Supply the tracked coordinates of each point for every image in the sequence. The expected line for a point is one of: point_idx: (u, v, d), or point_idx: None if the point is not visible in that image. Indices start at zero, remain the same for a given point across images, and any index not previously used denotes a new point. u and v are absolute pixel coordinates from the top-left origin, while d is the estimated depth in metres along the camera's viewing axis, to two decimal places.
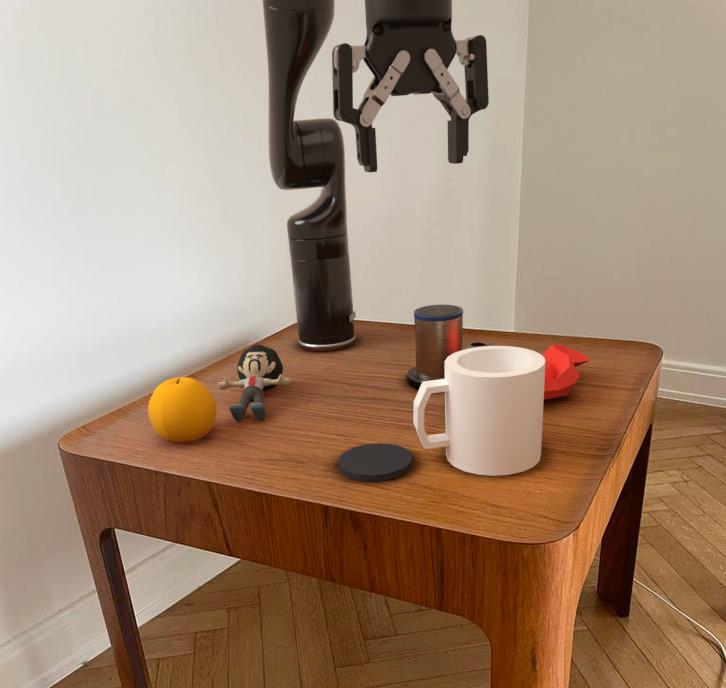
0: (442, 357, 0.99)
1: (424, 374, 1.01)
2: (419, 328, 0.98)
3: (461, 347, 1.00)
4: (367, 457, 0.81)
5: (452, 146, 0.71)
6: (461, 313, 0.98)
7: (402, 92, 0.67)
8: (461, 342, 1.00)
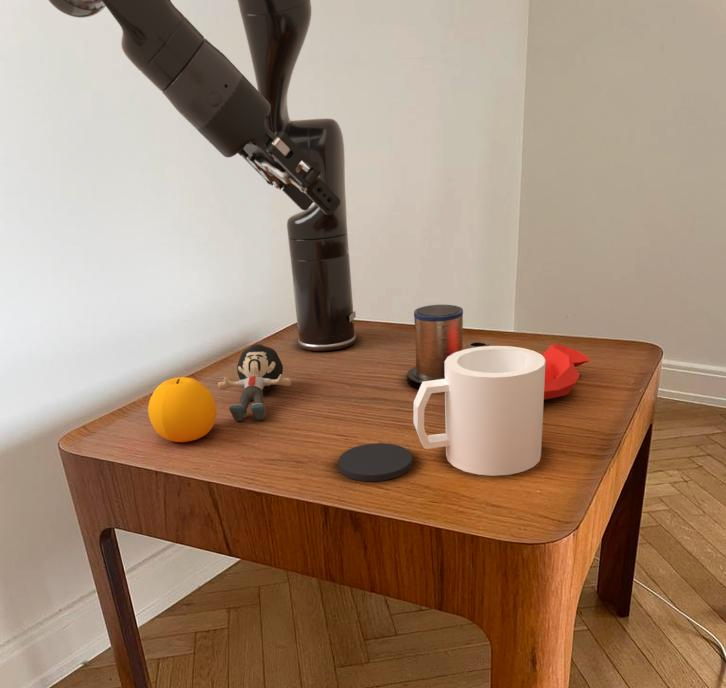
0: (442, 357, 0.99)
1: (424, 374, 1.01)
2: (419, 328, 0.98)
3: (461, 347, 1.00)
4: (367, 457, 0.81)
5: None
6: (461, 313, 0.98)
7: None
8: (461, 342, 1.00)
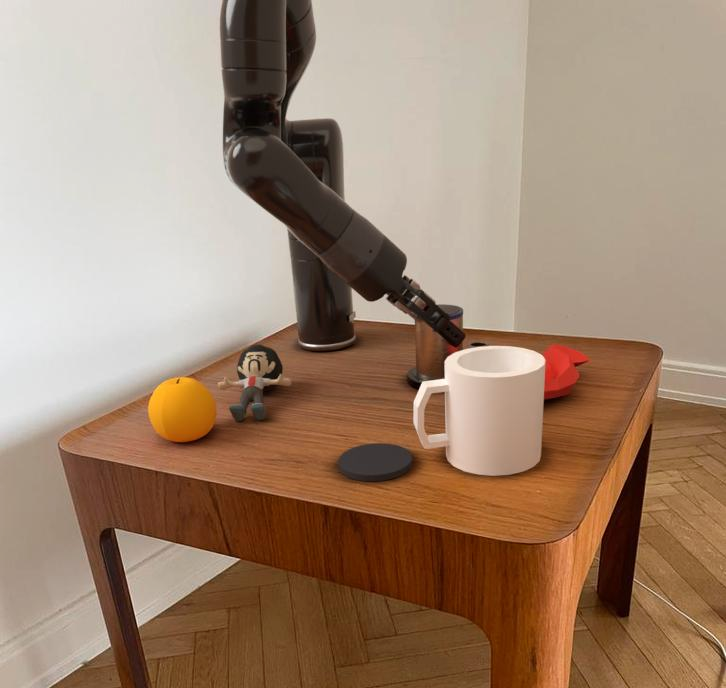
0: (442, 357, 0.99)
1: (424, 374, 1.01)
2: (419, 328, 0.98)
3: (461, 347, 1.00)
4: (367, 457, 0.81)
5: None
6: (461, 313, 0.98)
7: None
8: (461, 342, 1.00)
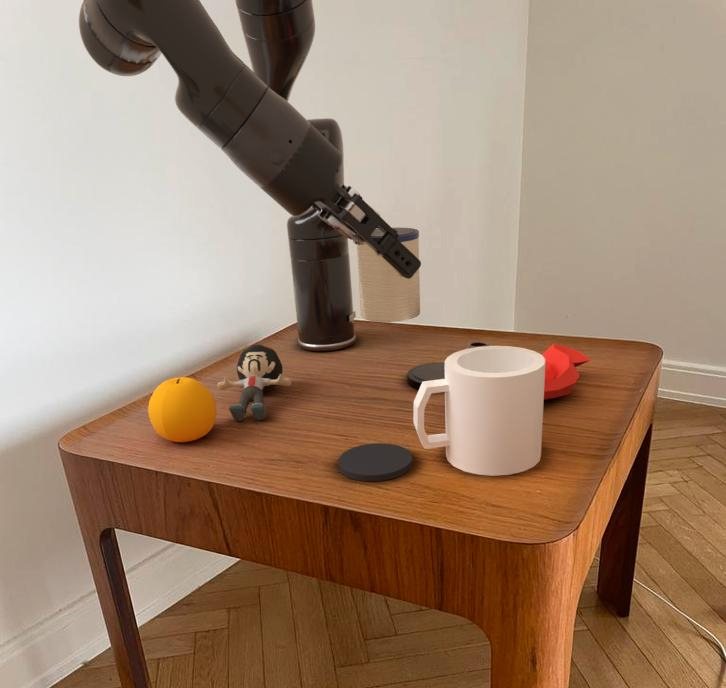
0: (391, 292, 0.76)
1: (369, 315, 0.78)
2: (362, 254, 0.76)
3: (417, 281, 0.78)
4: (367, 457, 0.81)
5: None
6: (416, 235, 0.76)
7: None
8: (417, 274, 0.77)
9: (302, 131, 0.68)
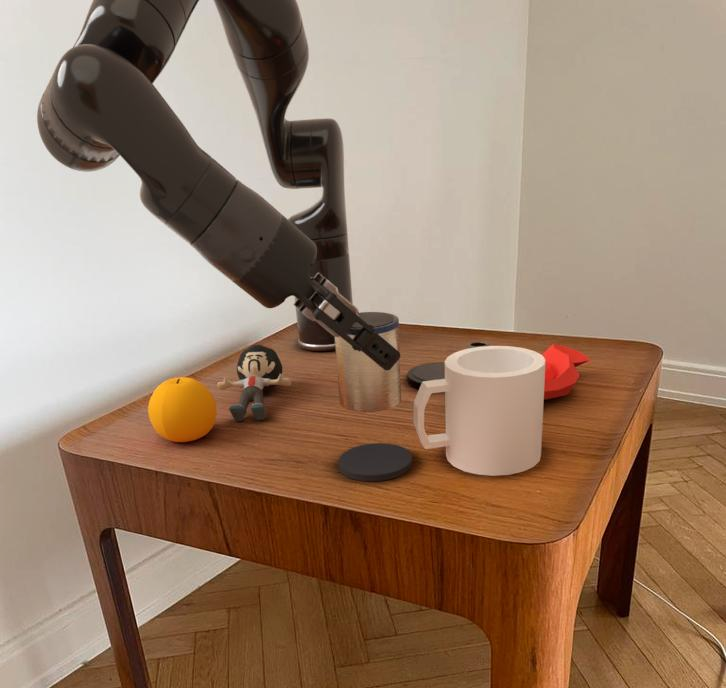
0: (369, 383, 0.73)
1: (348, 405, 0.75)
2: (339, 343, 0.73)
3: (397, 369, 0.75)
4: (367, 457, 0.81)
5: None
6: (395, 324, 0.72)
7: None
8: (397, 363, 0.74)
9: (273, 227, 0.65)
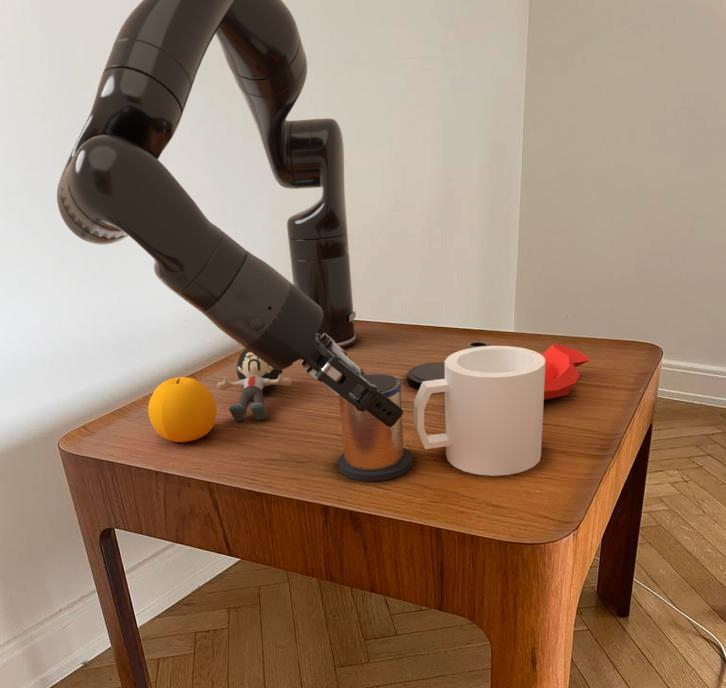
0: (373, 444, 0.76)
1: (352, 464, 0.78)
2: (344, 407, 0.76)
3: (399, 430, 0.78)
4: None
5: None
6: (398, 388, 0.75)
7: None
8: (399, 424, 0.77)
9: (282, 296, 0.68)
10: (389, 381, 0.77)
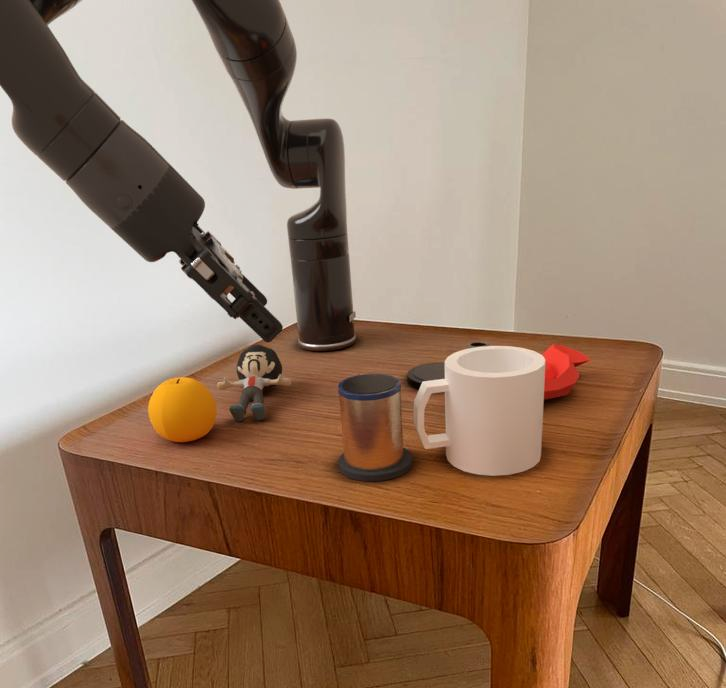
0: (373, 444, 0.76)
1: (352, 464, 0.78)
2: (344, 407, 0.76)
3: (399, 430, 0.78)
4: None
5: None
6: (398, 388, 0.75)
7: None
8: (399, 424, 0.77)
9: (156, 176, 0.61)
10: (389, 381, 0.77)
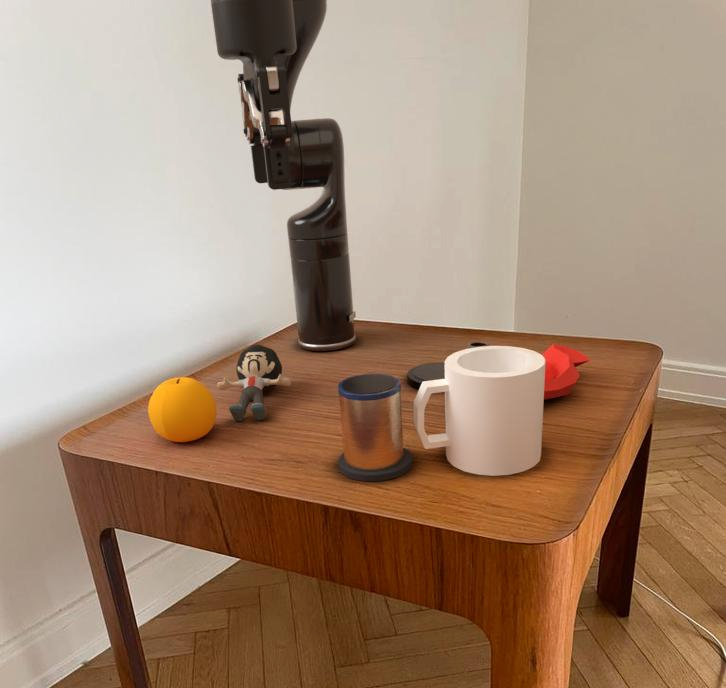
0: (373, 444, 0.76)
1: (352, 464, 0.78)
2: (344, 407, 0.76)
3: (399, 430, 0.78)
4: None
5: None
6: (398, 388, 0.75)
7: None
8: (399, 424, 0.77)
9: None
10: (389, 381, 0.77)
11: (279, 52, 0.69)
